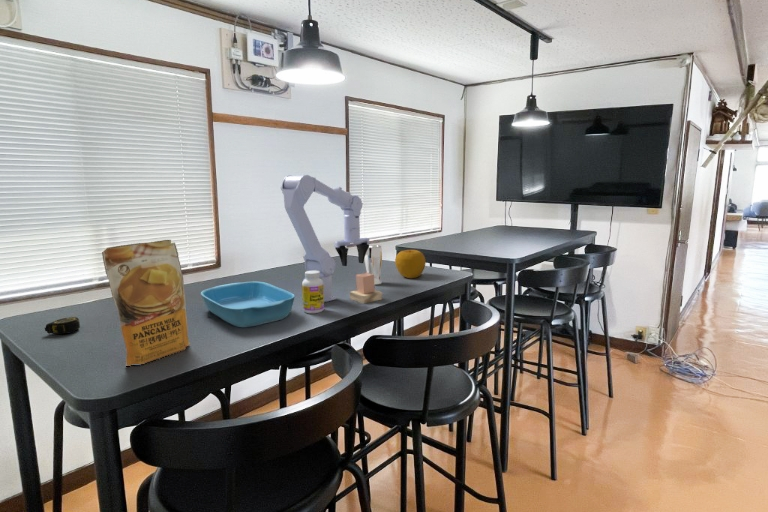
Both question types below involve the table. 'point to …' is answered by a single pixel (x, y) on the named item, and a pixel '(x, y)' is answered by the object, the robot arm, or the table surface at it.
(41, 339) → the table surface
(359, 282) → the clay block
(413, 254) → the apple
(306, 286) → the supplement bottle
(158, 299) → the pancake mix bag
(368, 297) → the oak base
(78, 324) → the tape measure
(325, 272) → the robot arm
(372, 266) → the beer glass
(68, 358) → the table surface
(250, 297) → the casserole dish
